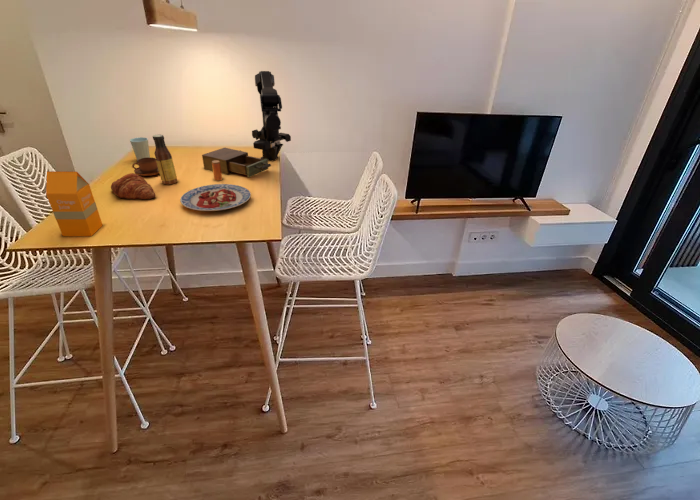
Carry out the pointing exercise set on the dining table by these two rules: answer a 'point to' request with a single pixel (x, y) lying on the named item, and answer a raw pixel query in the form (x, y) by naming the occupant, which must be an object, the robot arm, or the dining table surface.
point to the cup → (140, 147)
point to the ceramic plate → (215, 197)
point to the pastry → (132, 187)
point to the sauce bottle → (164, 161)
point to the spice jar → (216, 170)
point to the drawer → (248, 165)
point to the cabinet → (221, 158)
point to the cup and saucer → (146, 167)
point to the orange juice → (72, 203)
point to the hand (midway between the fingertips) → (274, 160)
